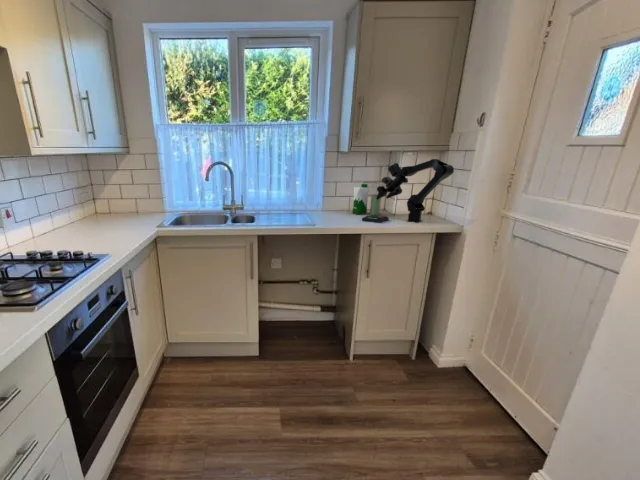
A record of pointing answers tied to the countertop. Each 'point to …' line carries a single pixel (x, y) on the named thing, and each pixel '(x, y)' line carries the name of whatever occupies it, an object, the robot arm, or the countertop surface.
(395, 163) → the robot arm
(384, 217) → the scale
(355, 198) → the milk carton
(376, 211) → the tumbler
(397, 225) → the countertop surface
